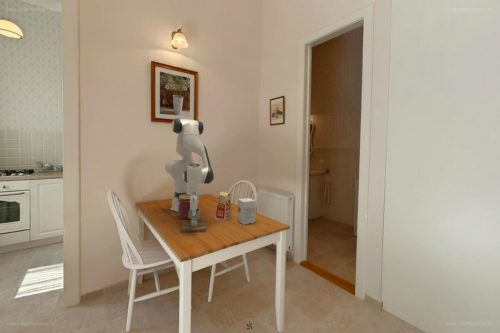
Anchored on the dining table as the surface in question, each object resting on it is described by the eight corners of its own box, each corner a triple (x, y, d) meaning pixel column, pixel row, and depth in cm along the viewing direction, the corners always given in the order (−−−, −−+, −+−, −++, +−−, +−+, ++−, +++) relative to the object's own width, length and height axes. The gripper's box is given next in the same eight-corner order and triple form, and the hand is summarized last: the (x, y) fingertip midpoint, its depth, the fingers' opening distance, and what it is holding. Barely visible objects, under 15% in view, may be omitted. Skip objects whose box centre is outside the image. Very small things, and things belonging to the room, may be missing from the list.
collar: (189, 215, 134) (189, 208, 133) (200, 214, 135) (200, 208, 134) (188, 218, 127) (188, 211, 127) (199, 217, 128) (199, 211, 128)
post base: (183, 224, 137) (183, 211, 137) (206, 223, 140) (206, 210, 139) (180, 232, 123) (180, 217, 123) (206, 231, 126) (206, 217, 125)
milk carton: (214, 218, 149) (215, 190, 148) (222, 215, 158) (222, 188, 156) (226, 221, 146) (226, 191, 144) (233, 217, 154) (233, 189, 153)
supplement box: (237, 220, 146) (237, 198, 145) (249, 219, 150) (249, 197, 149) (243, 225, 138) (243, 201, 137) (255, 223, 142) (256, 200, 141)
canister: (194, 220, 146) (194, 194, 145) (175, 219, 147) (175, 193, 145) (199, 214, 159) (199, 190, 158) (181, 214, 160) (181, 190, 158)
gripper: (199, 194, 120) (199, 218, 121) (200, 188, 140) (200, 209, 141) (187, 194, 119) (187, 219, 120) (190, 188, 139) (190, 209, 140)
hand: (194, 213), depth 131 cm, fingers closed on collar, 6 cm apart
